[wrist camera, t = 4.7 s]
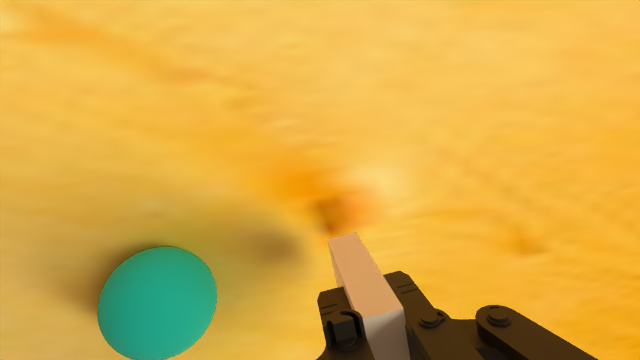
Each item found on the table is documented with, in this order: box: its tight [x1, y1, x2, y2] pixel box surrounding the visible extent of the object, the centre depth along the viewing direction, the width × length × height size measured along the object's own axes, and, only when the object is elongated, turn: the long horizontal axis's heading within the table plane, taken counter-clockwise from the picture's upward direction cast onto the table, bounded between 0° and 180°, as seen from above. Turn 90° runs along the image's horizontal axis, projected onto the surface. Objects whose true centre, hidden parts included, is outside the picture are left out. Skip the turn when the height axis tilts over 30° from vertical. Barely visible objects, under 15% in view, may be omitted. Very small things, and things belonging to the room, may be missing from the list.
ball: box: [97, 247, 217, 360], centre depth 18 cm, size 6×6×6 cm
